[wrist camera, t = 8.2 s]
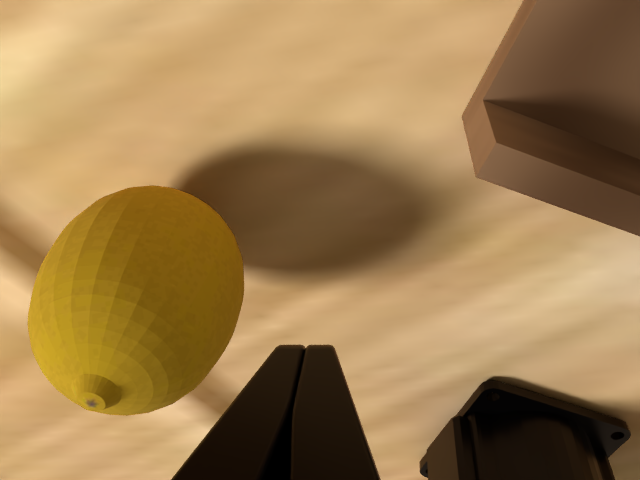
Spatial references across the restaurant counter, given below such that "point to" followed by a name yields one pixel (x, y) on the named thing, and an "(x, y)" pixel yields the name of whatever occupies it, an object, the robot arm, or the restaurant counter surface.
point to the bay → (564, 109)
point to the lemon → (136, 300)
